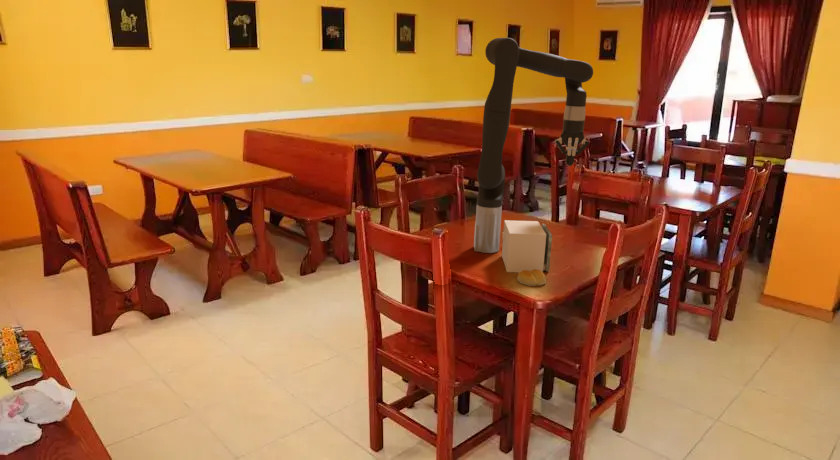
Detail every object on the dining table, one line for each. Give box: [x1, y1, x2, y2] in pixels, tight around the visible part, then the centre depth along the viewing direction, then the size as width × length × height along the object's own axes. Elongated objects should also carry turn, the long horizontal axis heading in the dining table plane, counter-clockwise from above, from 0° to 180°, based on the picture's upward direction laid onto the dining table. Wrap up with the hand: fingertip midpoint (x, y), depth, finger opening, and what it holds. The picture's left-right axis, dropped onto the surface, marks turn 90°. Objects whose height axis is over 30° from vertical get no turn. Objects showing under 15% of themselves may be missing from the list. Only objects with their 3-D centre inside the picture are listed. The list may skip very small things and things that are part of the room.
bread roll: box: [516, 269, 547, 287], centre depth 185 cm, size 8×9×4 cm
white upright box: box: [501, 219, 546, 273], centre depth 199 cm, size 12×16×14 cm
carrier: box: [541, 223, 553, 272], centre depth 199 cm, size 14×14×13 cm
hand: (569, 165), depth 215 cm, fingers closed
